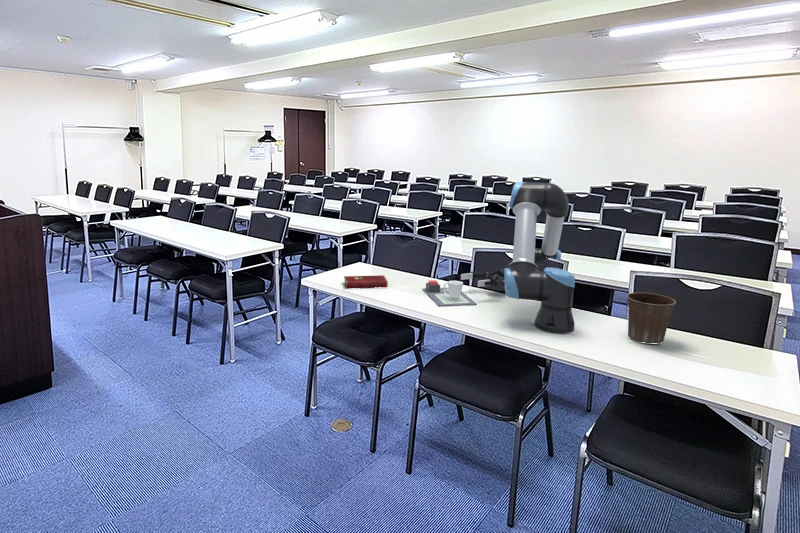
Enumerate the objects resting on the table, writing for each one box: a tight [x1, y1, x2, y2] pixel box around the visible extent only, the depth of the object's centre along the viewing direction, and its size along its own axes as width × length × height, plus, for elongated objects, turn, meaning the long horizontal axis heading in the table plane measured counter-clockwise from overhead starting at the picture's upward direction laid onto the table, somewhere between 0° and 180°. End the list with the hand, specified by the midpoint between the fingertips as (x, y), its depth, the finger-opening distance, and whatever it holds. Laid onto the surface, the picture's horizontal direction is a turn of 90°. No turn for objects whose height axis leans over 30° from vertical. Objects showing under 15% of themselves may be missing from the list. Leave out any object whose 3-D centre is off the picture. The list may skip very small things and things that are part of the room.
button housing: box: [425, 282, 441, 293], centre depth 234 cm, size 6×6×4 cm
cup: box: [442, 280, 464, 301], centre depth 222 cm, size 7×10×8 cm
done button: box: [428, 279, 439, 285], centre depth 234 cm, size 4×4×3 cm
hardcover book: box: [343, 274, 389, 290], centre depth 243 cm, size 12×21×4 cm, turn 101°
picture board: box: [421, 287, 478, 308], centre depth 227 cm, size 28×18×1 cm, turn 13°
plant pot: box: [626, 292, 677, 344], centre depth 178 cm, size 16×16×16 cm
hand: (469, 280), depth 225 cm, fingers open, 13 cm apart
